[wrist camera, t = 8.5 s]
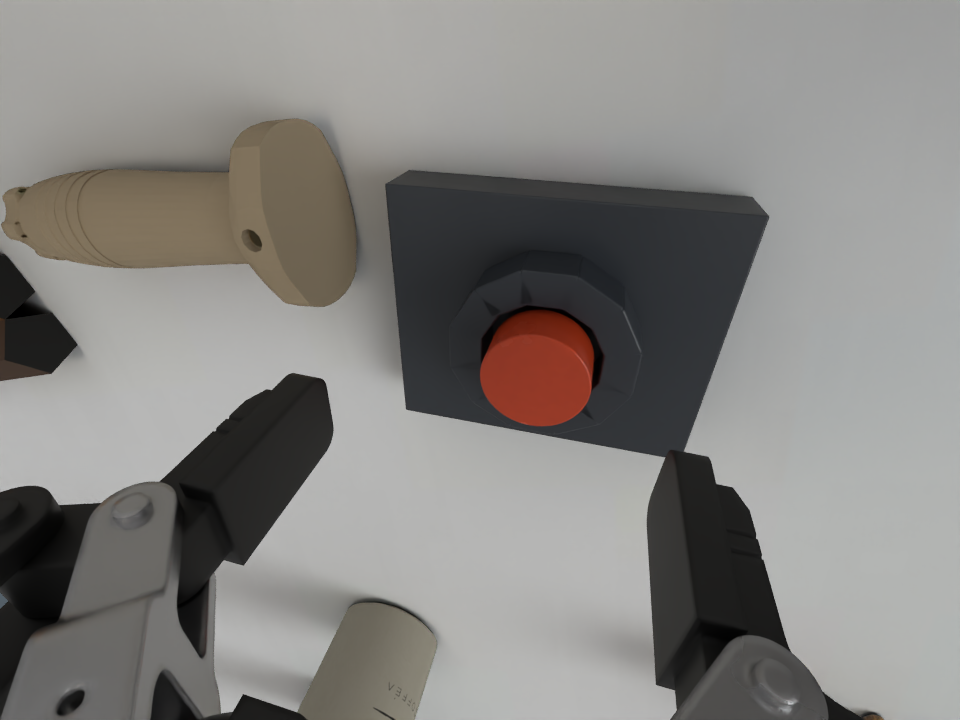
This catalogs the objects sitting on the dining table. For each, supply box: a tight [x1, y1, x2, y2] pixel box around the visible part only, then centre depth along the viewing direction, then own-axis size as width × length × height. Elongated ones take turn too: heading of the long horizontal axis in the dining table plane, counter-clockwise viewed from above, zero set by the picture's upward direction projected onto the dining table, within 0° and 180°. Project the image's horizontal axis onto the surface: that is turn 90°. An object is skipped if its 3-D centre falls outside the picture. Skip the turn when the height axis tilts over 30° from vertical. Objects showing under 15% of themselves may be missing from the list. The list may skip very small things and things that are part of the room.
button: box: [480, 309, 594, 426], centre depth 16 cm, size 4×4×2 cm
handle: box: [1, 119, 356, 307], centre depth 19 cm, size 5×6×15 cm
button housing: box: [385, 170, 769, 457], centre depth 18 cm, size 12×10×4 cm
